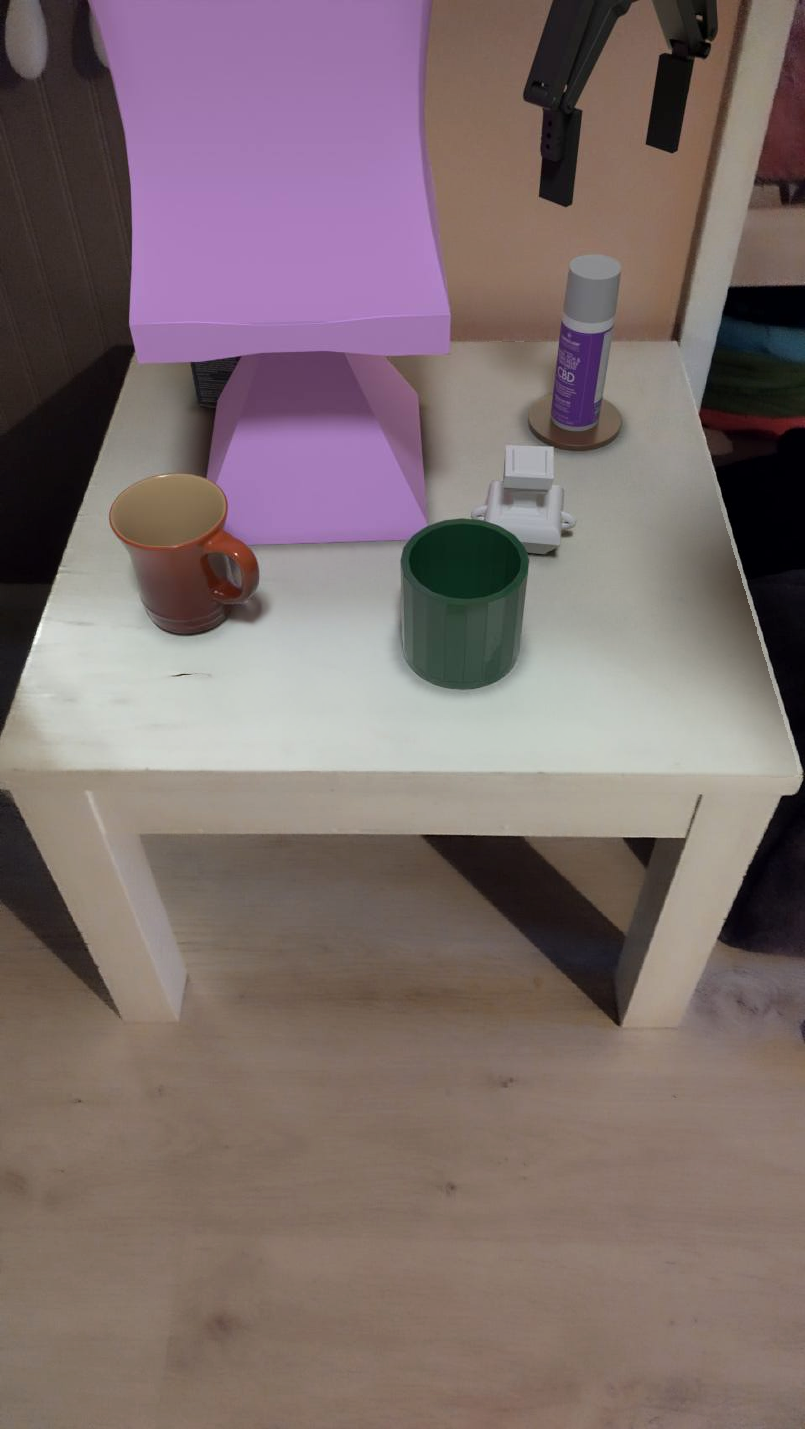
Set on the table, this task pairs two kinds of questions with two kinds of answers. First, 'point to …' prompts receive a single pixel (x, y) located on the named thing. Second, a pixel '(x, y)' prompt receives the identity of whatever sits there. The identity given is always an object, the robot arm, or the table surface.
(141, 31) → the chair
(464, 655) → the cup
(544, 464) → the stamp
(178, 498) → the mug
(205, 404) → the box
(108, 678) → the table surface
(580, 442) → the coaster
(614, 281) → the container
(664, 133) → the robot arm
